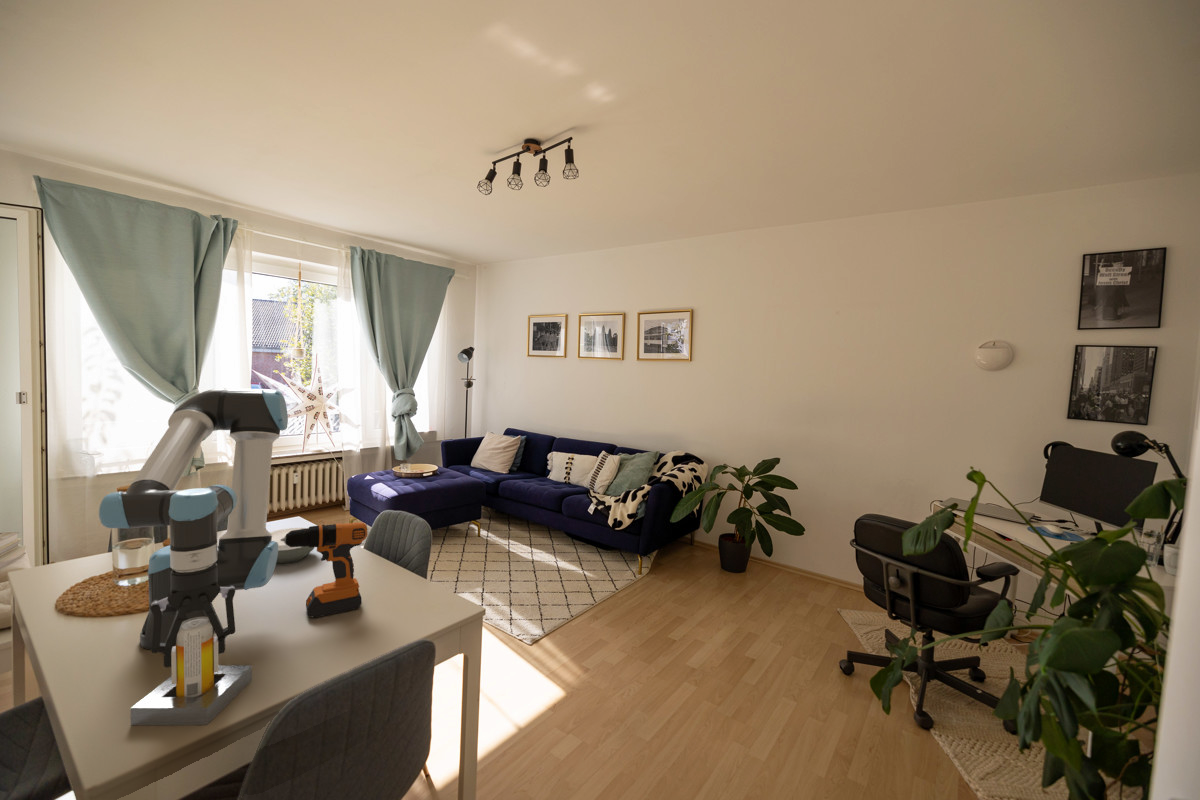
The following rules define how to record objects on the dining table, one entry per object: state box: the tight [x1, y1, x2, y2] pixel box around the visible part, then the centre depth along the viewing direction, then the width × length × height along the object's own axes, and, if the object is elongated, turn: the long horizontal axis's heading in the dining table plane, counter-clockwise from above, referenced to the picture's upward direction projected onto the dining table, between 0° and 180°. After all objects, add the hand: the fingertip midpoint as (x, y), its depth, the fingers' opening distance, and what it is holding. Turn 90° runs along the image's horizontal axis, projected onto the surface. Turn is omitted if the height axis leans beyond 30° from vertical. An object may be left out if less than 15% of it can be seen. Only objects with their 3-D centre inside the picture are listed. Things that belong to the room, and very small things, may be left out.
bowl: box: [269, 527, 315, 564], centre depth 180 cm, size 19×19×8 cm
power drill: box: [281, 521, 368, 619], centre depth 143 cm, size 22×7×25 cm, turn 123°
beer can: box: [176, 617, 215, 697], centre depth 104 cm, size 6×6×15 cm
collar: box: [130, 664, 253, 726], centre depth 105 cm, size 14×14×4 cm
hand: (195, 674), depth 104 cm, fingers closed on beer can, 6 cm apart
